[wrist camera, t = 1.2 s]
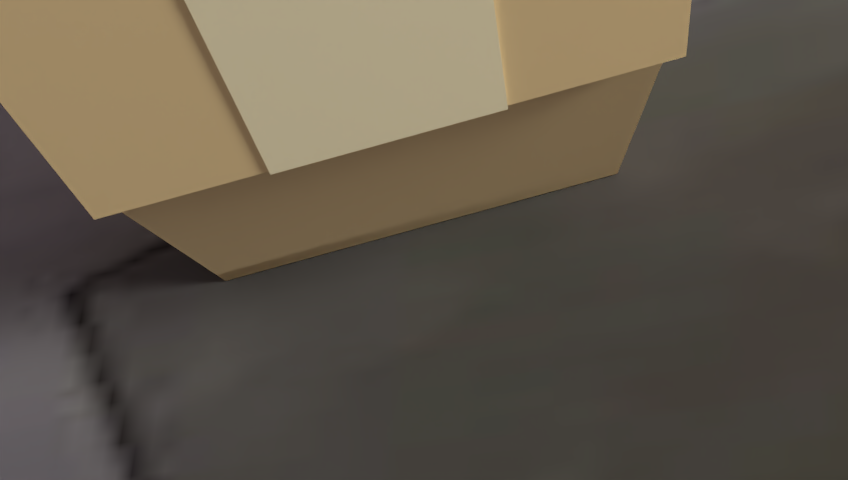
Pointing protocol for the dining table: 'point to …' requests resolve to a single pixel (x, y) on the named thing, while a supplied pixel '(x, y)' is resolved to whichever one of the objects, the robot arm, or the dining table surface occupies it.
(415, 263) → the dining table surface
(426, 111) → the box lid
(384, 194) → the cardboard box
